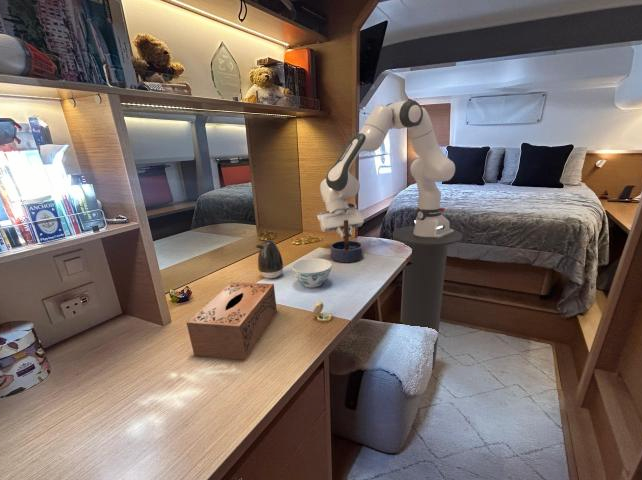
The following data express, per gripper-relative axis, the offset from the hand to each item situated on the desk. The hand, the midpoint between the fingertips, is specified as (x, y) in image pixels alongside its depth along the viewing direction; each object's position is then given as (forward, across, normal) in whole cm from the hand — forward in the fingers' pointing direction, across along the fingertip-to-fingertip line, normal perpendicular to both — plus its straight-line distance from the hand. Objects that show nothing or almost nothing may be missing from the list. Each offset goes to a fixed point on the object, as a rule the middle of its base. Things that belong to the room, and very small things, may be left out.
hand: (347, 236), depth 149 cm
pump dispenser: (+10, -36, +5) cm, 38 cm away
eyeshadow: (+39, -30, -24) cm, 55 cm away
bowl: (+6, +1, +9) cm, 11 cm away
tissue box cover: (+36, -55, -21) cm, 69 cm away
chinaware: (+21, -24, -5) cm, 32 cm away
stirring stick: (+6, 0, +7) cm, 9 cm away
